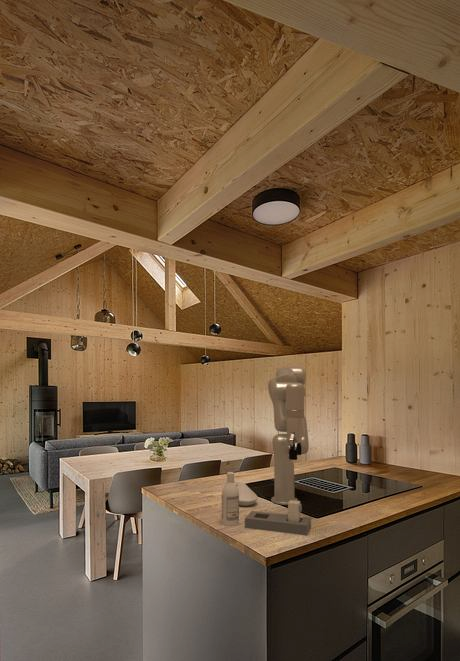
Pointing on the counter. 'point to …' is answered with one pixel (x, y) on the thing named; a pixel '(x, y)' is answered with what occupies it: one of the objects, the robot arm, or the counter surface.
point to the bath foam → (230, 502)
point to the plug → (294, 511)
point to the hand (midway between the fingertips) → (295, 457)
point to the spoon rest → (246, 495)
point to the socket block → (277, 523)
